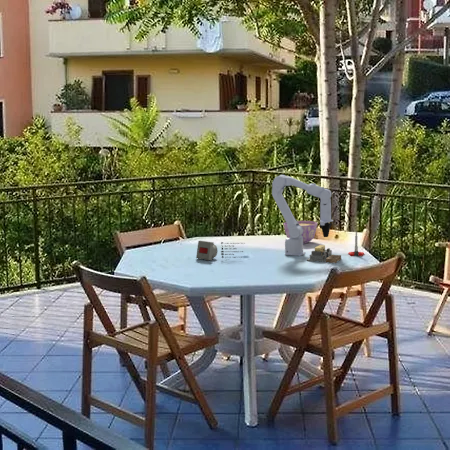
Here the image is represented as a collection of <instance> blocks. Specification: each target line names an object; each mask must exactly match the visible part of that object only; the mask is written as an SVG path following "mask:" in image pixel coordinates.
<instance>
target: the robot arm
mask: <svg viewBox="0 0 450 450" xmlns="http://www.w3.org/2000/svg"><path fill="white" fill-rule="evenodd" d="M271 185H272V186H271V187H272V188H271V195H272V197H273V199H274V201H275V203H276V205H277V208H278V209H279V210H280V213H281V215H282V216H283V218H284V220H285V222H286V223H287V227H288V229H289V235H290V238H287V237H286V238H285V240H284V241H285V242H284V255H285V256H304V255H305V254H306V252H304V244H303V237H302V234H303V227H302V226H300V225H299V223H298V222H297V221H298V220H296V218H295V216H294V215H293V213H292V211H291V209H290V206H289V205H288V203H287V201H286V199H285V197H284V195H283V193H284V190H285V187H287V186H288V187H289V186H293V187H296V188H299V189H302V190H303V191H305V192H306V193H307V194H309V195H311V196H314V197H316V198H319V199H320V203H319V204H320V206H319V208H320V211H319V213H320V214H319V215H320V220H319V222H320V223H319V227H320V229H321V230H322V235H323V238H329V235H330V230H331V228H332V225H333V224H332V222H334V219H332V200H331V199H332V198H331V197H332V191H331V189H329V188H325V187H324V186H322V187H321V186H320V185H317V184H316V183H315V182H314V183H308V184H307V183H306V182H304V181H301V180H299V179H296V178H294V177H292V176H289V175H285V174H280V175H277V176H275V177H274V179H273V181H272V184H271Z"/></svg>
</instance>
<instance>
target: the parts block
mask: <svg viewBox="0 0 450 450" xmlns="http://www.w3.org/2000/svg"><path fill="white" fill-rule="evenodd" d="M340 260H342V254H333V255H331V256H329V257H328V258H326V262H325V263H327V262H329V264H331V263H332V264H337V263H338V262H339V261H340ZM337 261H338V262H337Z"/></svg>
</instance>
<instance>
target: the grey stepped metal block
mask: <svg viewBox="0 0 450 450" xmlns="http://www.w3.org/2000/svg"><path fill="white" fill-rule="evenodd" d="M310 252H311V254H309V258H307V259H306V261H307V262H315V261H319V262H318V263H327V262H326V258H328V257H329V256H331V255H334V254H333V253H332V252H333V251H332V249H331V248H329V247H328V248H327V249H325V251H323V252H322V254H321V251H315V250H312V251H310ZM320 261H321V262H320ZM322 261H323V262H322Z"/></svg>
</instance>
